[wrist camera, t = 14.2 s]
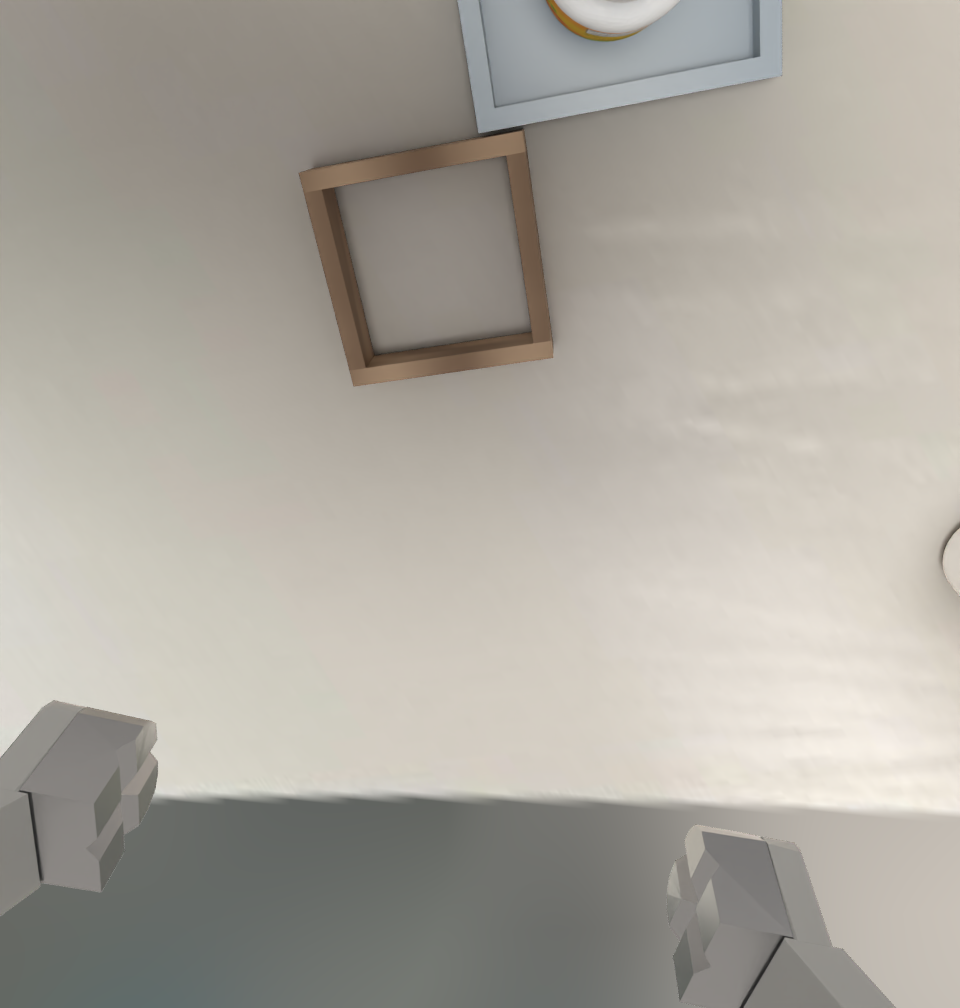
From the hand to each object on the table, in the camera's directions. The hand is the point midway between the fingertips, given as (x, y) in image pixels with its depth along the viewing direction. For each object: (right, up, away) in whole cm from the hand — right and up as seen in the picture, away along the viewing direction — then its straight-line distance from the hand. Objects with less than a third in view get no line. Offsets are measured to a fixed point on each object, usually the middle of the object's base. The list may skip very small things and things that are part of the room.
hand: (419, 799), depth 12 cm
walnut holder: (-1, +16, +25) cm, 29 cm away
